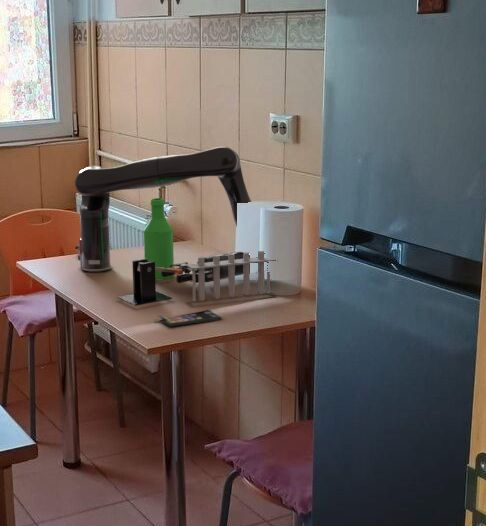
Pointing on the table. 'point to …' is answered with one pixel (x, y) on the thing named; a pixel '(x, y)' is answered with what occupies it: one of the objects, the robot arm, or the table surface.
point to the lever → (164, 269)
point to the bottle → (158, 239)
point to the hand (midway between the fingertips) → (169, 276)
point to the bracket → (144, 284)
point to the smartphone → (190, 318)
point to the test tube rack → (230, 274)
